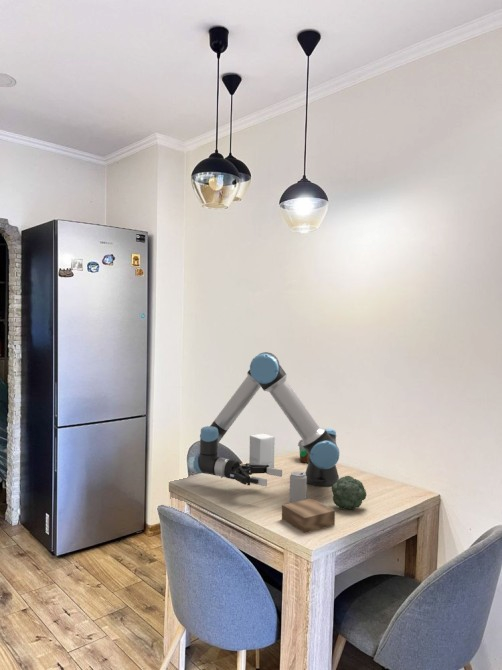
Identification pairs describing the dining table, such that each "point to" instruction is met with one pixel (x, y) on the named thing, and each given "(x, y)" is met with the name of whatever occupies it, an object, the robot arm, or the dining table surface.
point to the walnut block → (308, 515)
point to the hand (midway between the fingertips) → (274, 477)
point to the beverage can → (298, 486)
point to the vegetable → (348, 493)
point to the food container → (303, 453)
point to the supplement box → (262, 450)
